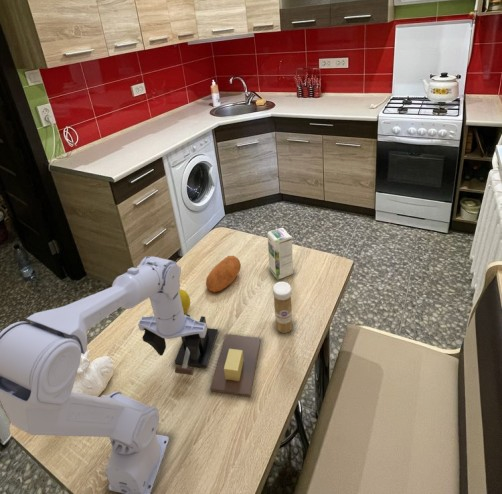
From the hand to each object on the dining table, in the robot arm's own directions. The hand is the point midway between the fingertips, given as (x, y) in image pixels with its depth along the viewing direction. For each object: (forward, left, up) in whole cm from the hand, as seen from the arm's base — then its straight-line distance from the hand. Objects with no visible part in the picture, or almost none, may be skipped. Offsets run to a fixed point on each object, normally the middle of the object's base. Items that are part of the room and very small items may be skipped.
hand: (178, 353), depth 76 cm
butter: (+4, -11, -8) cm, 14 cm away
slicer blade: (+5, 0, -5) cm, 7 cm away
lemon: (+18, +8, -10) cm, 22 cm away
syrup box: (+38, -18, -10) cm, 43 cm away
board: (+6, -11, -9) cm, 15 cm away
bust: (-5, +21, -10) cm, 24 cm away
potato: (+32, -1, -10) cm, 33 cm away
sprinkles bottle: (+18, -21, -10) cm, 29 cm away
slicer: (+8, 0, -9) cm, 13 cm away
